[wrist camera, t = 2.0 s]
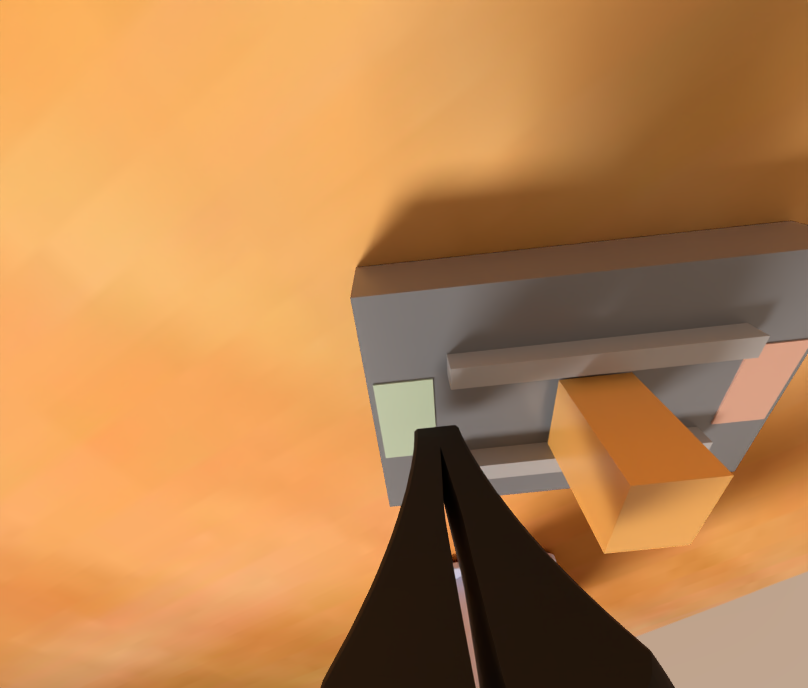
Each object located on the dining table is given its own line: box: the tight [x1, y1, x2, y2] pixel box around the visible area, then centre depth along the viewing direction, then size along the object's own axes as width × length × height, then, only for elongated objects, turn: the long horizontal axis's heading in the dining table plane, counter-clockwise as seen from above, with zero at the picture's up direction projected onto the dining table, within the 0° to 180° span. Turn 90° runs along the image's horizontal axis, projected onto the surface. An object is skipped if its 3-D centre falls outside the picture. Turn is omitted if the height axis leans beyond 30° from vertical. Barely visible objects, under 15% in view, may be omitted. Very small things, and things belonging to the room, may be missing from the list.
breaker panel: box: [350, 221, 808, 507], centre depth 14 cm, size 10×15×3 cm, turn 95°
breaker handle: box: [548, 372, 734, 554], centre depth 11 cm, size 3×2×4 cm
